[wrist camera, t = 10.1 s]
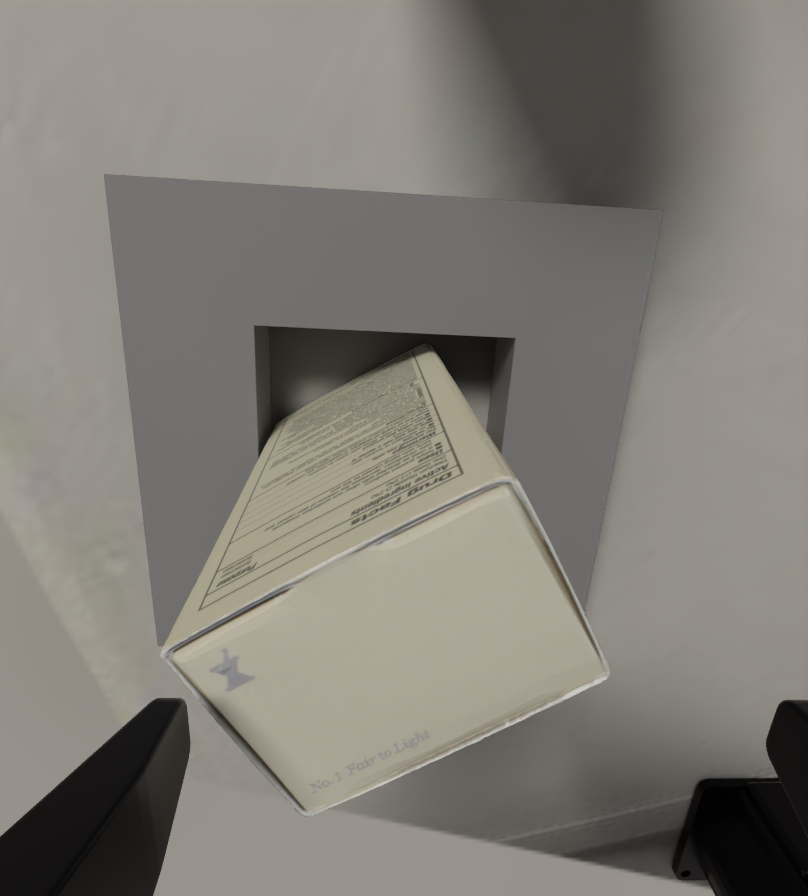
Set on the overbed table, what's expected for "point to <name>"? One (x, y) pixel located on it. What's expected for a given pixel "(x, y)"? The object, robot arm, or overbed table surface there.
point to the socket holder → (368, 309)
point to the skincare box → (379, 593)
